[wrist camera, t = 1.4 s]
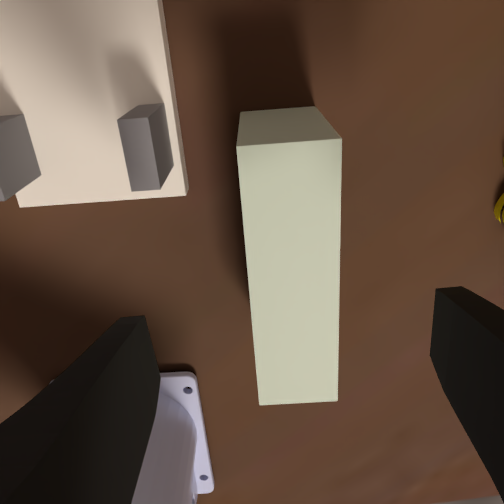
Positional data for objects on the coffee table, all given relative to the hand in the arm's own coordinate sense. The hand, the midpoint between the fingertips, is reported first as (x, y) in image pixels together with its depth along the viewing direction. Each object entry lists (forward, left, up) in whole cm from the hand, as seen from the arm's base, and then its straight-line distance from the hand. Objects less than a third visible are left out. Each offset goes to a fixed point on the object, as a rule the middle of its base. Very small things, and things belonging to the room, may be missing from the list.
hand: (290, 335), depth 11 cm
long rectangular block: (-1, 0, -10) cm, 10 cm away
